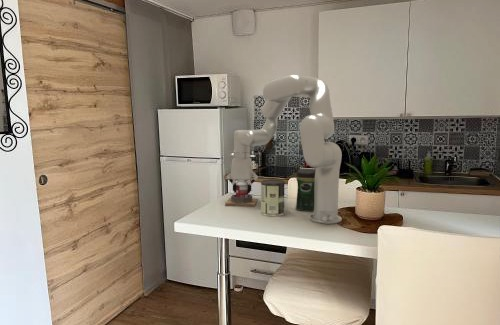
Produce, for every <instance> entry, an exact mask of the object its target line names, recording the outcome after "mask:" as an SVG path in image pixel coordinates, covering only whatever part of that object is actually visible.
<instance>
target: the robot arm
mask: <svg viewBox="0 0 500 325" xmlns="http://www.w3.org/2000/svg"><path fill="white" fill-rule="evenodd" d="M262 95H263V97H264V99H265V102H264V104H263V105H262V107H261V108H260V112H261V114H262V115H263V116H264V117H265V122H264V124H263V126H262V127H261V129H238V130H235V131H234V132H233V142H234V143H233V144H234V145H233V153H232V152H231V153H230V155H231V157H233V158H232V160H231V167H230V168H231V169H230V172H229V173H228V174H227V175H225V178H226V179H227V180H228V181H229V183H231V185H232V192H233V193H234V194H236V182H237V181H238V180H246V181H247V182H248V194H250V193H251V192H252V185H253V183H255V181H256V180H257V179H258V178H259V176H258V175H257V174H256V173H255V172H254V171H253V162H252V158H251V147H258V146H265V145H267V144H268V143H269V142H270V141H271V140H272V138H273V137H274V135H276V134H275V133H276V131H277V128H278V122H279V121H278V119H279V117H280V116H281V114H282V112H283V111H284V110H285V108H286V106H287V105H288V103H289V102H290V100H291V99H292V97H296V98H297V97H298V98H309V99H310V100H309V104H308V106H309V107H308V108H309V109H308V110H309V115H306V116H304V118H302V120H301V123H300V126H299V134H300V141H301V148H302V153H303V158H304V161H305V163H306V164H307V166H308V167H311V168H312V169H313V168H314V169H315V170H316V172H315V185H314V211H313V213H312V214H311V215H309V220H310V221H312V222H314V223H318V224H325V225H326V224H329V225H330V224H331V225H332V224H338V223H340V222H342V220H343V218H342V217H341V216H340V215H339V213H338V212H339V185H340V184H339V183H340V169H341V164H342V156H343V154H342V149H341V148H340V146H339V145H338V144H336V142H335V143H334V142H332V141H325V139H329V138H331V137H332V136H333V135H334V133H335V123H334V122H335V121H334V116H333V109H332V104H331V98H330V97H331V96H330V89H329V86H328V84H327V83H326V82H325V81H324V80H322V79H320V78H319V77H313V76H309V75H302V74H290V75H285V76H282V77H279V78H276V79H273V80H270V81H268V82H267V83H265V84H264V86H263V89H262Z"/></svg>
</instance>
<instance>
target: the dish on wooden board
mask: <svg viewBox="0 0 500 325" xmlns="http://www.w3.org/2000/svg"><path fill="white" fill-rule="evenodd" d="M257 203H258V198H255V197H254V198H253V195H252V194H250V193H248V197H245V198H237V197H236V193H234V194H231V196H230V197H229V198H228V200H227V201H226V202H225V204H224V207H246V208H248V207H249V208H251V207H252V208H253V207H255V206H256V204H257Z"/></svg>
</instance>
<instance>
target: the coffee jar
mask: <svg viewBox="0 0 500 325" xmlns="http://www.w3.org/2000/svg"><path fill="white" fill-rule="evenodd" d="M315 172H316V168H314V169H313V168H299V169H297V171H296V175H295V176H296V178H295V179H296V181H297V191H296V192H297V195H296V201H295V202H296V203H295V208H296V210H298V211H301V212H302V211H305V212H314V185H315Z"/></svg>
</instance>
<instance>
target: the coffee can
mask: <svg viewBox="0 0 500 325" xmlns="http://www.w3.org/2000/svg"><path fill="white" fill-rule="evenodd" d="M285 184H286V181H284V180H280V179H263V180H260V188H261V189H260V190H261V191H260V193H261V194H260V195H261V196H260V199H261V200H260V206H261V207H260V209H261V210H260V214H261V215H263V216H267V217H280V216H283V215H285Z"/></svg>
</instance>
